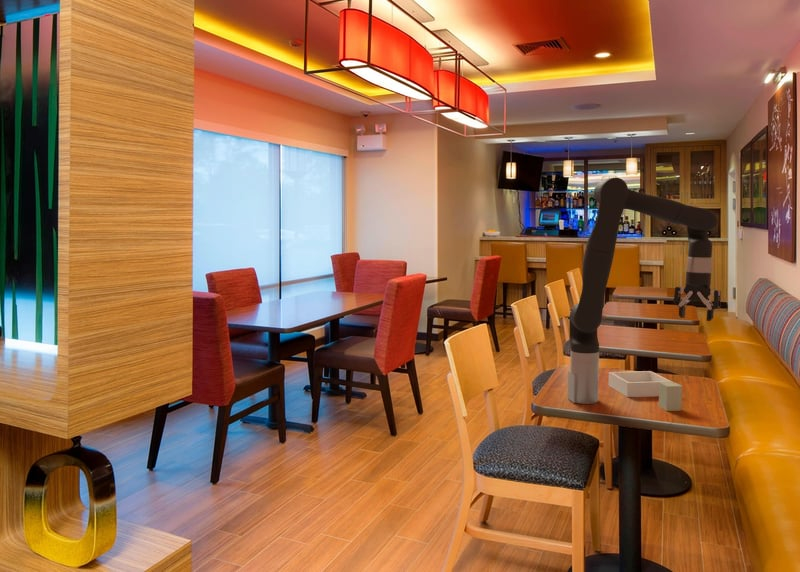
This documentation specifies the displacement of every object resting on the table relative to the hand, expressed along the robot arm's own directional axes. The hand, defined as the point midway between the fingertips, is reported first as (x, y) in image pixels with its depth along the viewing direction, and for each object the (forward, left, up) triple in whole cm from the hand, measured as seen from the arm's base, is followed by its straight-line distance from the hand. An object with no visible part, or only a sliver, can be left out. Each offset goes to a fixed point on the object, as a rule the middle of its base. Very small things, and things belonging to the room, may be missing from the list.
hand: (695, 319), depth 204 cm
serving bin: (-12, +14, -28) cm, 33 cm away
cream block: (-12, -8, -28) cm, 31 cm away
